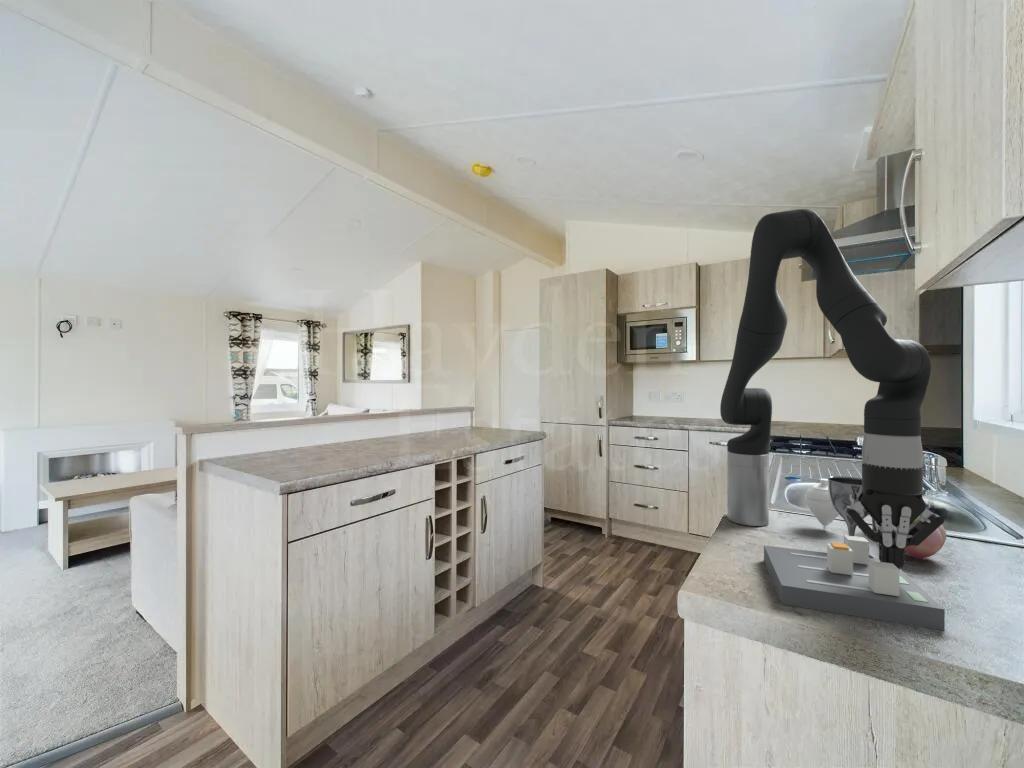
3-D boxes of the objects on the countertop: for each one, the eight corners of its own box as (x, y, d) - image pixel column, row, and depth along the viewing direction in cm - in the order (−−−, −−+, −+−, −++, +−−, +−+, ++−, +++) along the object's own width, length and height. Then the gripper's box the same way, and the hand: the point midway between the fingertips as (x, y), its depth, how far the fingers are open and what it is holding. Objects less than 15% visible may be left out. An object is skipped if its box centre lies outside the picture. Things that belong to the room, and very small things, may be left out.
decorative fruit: (896, 546, 94) (896, 499, 94) (950, 559, 87) (950, 509, 87) (881, 557, 88) (881, 507, 88) (936, 571, 82) (937, 517, 81)
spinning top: (810, 533, 102) (810, 481, 102) (801, 523, 109) (801, 474, 109) (850, 537, 99) (850, 484, 99) (838, 526, 106) (838, 476, 106)
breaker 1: (843, 557, 81) (843, 535, 80) (863, 559, 79) (864, 537, 79) (848, 562, 78) (848, 539, 78) (868, 564, 77) (869, 541, 77)
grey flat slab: (763, 560, 87) (763, 544, 87) (890, 577, 79) (890, 559, 79) (781, 604, 70) (781, 584, 70) (944, 630, 63) (944, 608, 63)
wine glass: (824, 554, 90) (824, 480, 89) (830, 543, 95) (830, 474, 95) (875, 565, 84) (875, 487, 84) (878, 553, 90) (878, 480, 90)
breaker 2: (868, 585, 69) (868, 560, 69) (892, 589, 68) (892, 563, 68) (874, 592, 67) (874, 566, 67) (899, 596, 66) (899, 569, 66)
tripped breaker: (827, 566, 76) (827, 541, 76) (848, 569, 75) (848, 543, 75) (831, 572, 74) (831, 546, 74) (852, 575, 73) (853, 548, 73)
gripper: (932, 460, 73) (931, 565, 73) (835, 455, 78) (835, 554, 78) (957, 469, 66) (957, 585, 66) (849, 463, 71) (849, 571, 71)
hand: (891, 568), depth 72 cm, fingers closed
